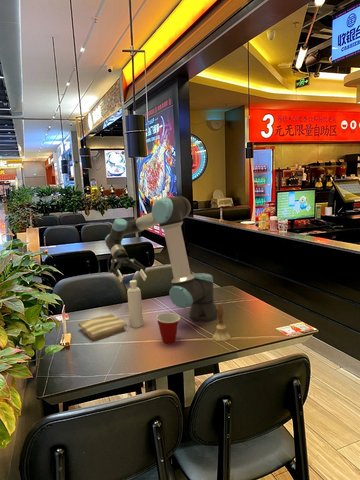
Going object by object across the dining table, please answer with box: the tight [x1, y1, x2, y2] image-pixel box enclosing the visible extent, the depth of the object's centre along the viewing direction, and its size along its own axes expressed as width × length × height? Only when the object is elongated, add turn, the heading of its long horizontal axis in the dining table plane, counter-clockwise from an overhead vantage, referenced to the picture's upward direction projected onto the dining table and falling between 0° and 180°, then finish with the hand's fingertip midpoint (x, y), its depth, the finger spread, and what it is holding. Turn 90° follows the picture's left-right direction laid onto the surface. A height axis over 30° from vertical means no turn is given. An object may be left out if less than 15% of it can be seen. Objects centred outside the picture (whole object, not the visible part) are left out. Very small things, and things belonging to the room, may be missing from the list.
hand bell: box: [212, 303, 232, 342], centre depth 163 cm, size 8×8×16 cm
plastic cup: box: [155, 312, 181, 345], centre depth 163 cm, size 11×11×12 cm
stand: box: [77, 312, 128, 341], centre depth 179 cm, size 18×18×4 cm
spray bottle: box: [126, 279, 144, 329], centre depth 182 cm, size 7×7×25 cm
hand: (133, 279), depth 184 cm, fingers open, 13 cm apart
